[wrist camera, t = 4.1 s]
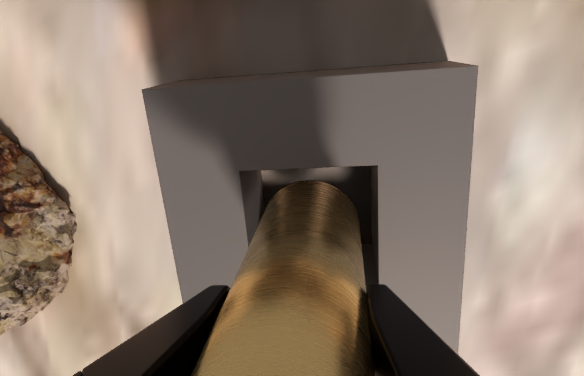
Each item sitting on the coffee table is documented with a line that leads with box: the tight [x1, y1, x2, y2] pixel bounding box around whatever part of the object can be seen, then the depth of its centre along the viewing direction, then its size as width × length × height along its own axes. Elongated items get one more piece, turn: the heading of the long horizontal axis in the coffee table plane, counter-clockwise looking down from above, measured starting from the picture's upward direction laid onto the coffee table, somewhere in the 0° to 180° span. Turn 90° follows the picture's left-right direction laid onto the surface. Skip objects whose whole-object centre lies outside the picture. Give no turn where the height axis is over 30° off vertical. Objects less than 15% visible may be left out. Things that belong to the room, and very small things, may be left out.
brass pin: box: [191, 180, 375, 376], centre depth 9 cm, size 3×3×9 cm
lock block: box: [142, 61, 478, 354], centre depth 14 cm, size 9×9×3 cm
